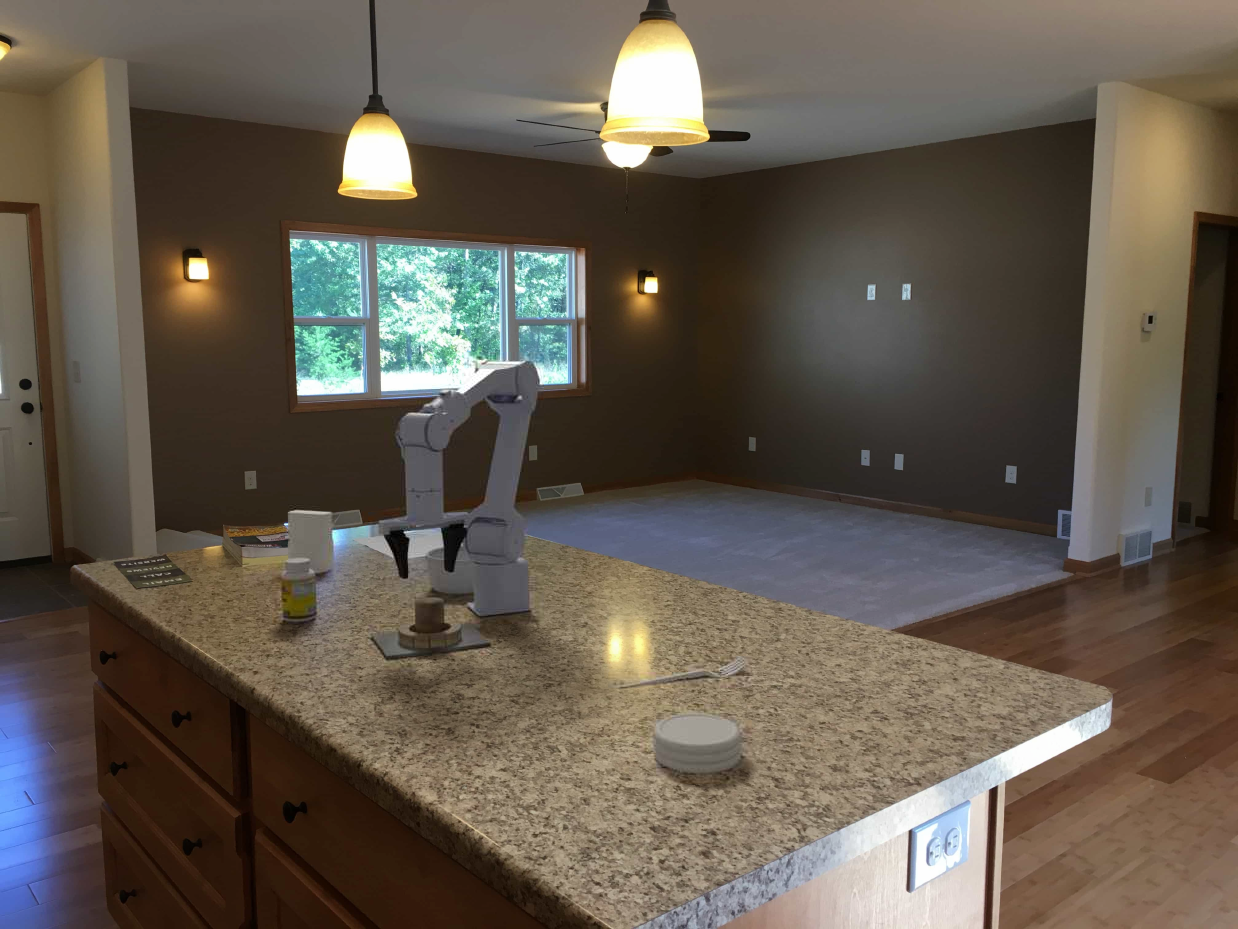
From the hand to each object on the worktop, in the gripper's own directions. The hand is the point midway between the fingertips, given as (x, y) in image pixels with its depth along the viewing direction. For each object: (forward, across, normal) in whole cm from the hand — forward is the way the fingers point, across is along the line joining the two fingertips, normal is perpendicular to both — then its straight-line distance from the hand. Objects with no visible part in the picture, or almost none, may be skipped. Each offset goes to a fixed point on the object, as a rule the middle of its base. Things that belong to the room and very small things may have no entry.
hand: (426, 574), depth 154 cm
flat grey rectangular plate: (+10, +1, +2) cm, 11 cm away
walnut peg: (+10, 0, +2) cm, 10 cm away
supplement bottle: (+11, +14, -22) cm, 28 cm away
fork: (+11, -22, +38) cm, 45 cm away
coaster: (+11, -8, +59) cm, 61 cm away
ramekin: (+11, -18, -27) cm, 35 cm away
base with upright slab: (+11, +2, -59) cm, 60 cm away
